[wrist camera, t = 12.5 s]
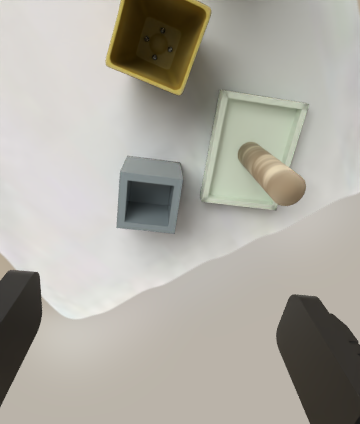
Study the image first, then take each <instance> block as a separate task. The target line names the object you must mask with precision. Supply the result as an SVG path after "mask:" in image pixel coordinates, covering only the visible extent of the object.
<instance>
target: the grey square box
mask: <svg viewBox="0 0 360 424" xmlns="http://www.w3.org/2000/svg"><path fill="white" fill-rule="evenodd" d="M182 183H183V177H182V171H181V166H180V163H179V162H171V161H164V160H156V159H148V158H141V157H133V156H127V158H126V160H125V162H124V164H123V166H122V168H121V171H120V180H119V196H118V213H117V228H124V229H134V230H144V231H153V232H163V233H173V234H175V227H176V221H177V215H178V208H179V202H180V196H181V189H182Z"/></svg>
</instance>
